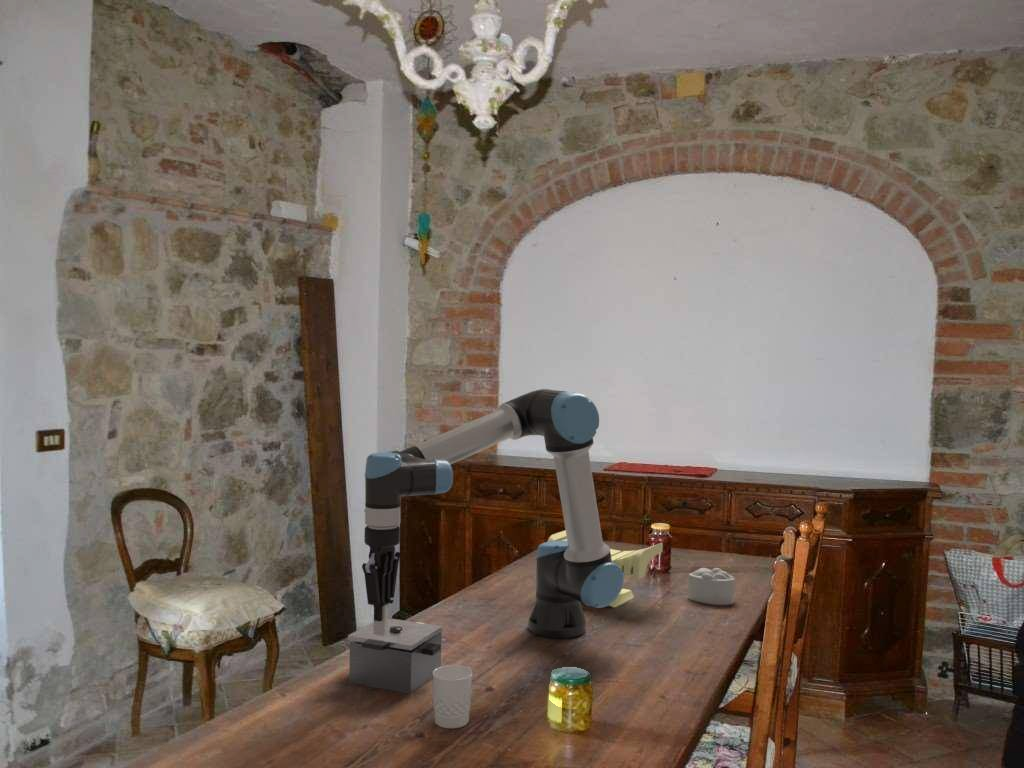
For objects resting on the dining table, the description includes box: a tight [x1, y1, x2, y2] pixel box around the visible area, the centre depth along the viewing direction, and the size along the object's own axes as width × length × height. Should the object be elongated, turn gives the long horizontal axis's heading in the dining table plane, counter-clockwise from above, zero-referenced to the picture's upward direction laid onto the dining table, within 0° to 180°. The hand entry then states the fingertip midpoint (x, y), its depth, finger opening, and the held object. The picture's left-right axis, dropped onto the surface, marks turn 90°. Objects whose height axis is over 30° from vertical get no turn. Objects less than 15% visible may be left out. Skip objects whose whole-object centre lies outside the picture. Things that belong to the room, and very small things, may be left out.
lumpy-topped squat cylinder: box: [687, 567, 736, 606], centre depth 264 cm, size 10×13×9 cm
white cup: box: [432, 664, 474, 729], centre depth 176 cm, size 8×8×10 cm
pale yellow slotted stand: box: [546, 529, 664, 608], centre depth 261 cm, size 30×16×18 cm, turn 57°
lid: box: [347, 617, 443, 651], centre depth 197 cm, size 15×19×2 cm
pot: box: [348, 630, 443, 695], centre depth 199 cm, size 20×15×9 cm
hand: (380, 634), depth 191 cm, fingers closed
